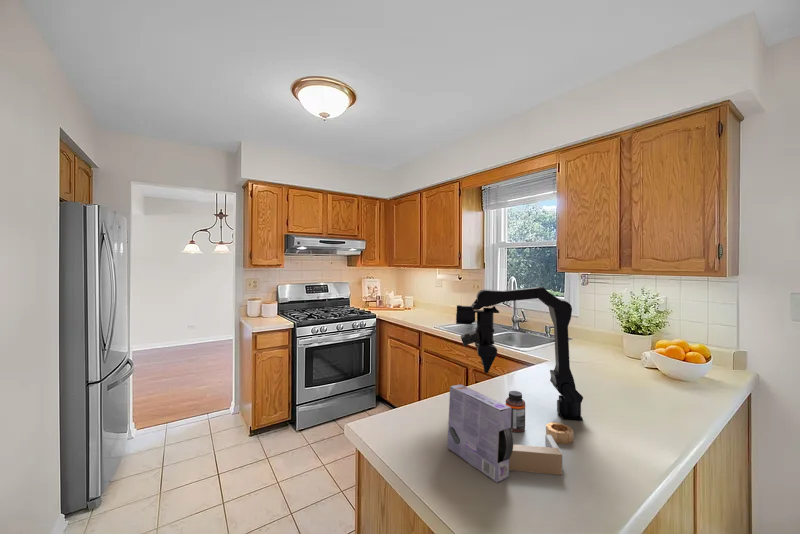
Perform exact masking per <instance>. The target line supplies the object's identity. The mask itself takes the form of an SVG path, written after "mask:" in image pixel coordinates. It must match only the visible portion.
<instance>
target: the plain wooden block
mask: <svg viewBox="0 0 800 534" xmlns="http://www.w3.org/2000/svg"><path fill="white" fill-rule="evenodd" d="M544 436H545V439H544V440H545V446H536V445H535V446H534V445H524V444H513V451H512V454H511V456H510V458H509V471H517V472H525V473H526V472H529V473H537V474H538V473H539V474H545V475H546V474H548V475H549V474H550V475H560V476H561V475H563V453H562V451H561V450H560V448H559V446H558V443H556V442H555V441H554V439H553V437H552V436H551V435H546V434H545V435H544Z"/></svg>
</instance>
